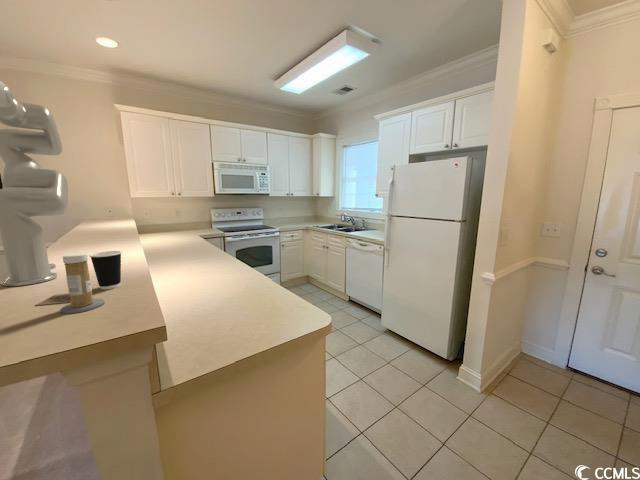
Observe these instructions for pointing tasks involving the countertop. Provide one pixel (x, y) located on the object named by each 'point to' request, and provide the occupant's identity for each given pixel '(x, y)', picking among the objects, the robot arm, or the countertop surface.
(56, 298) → the tile
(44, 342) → the countertop surface
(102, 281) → the dixie cup
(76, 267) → the sprinkles bottle
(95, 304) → the coaster
